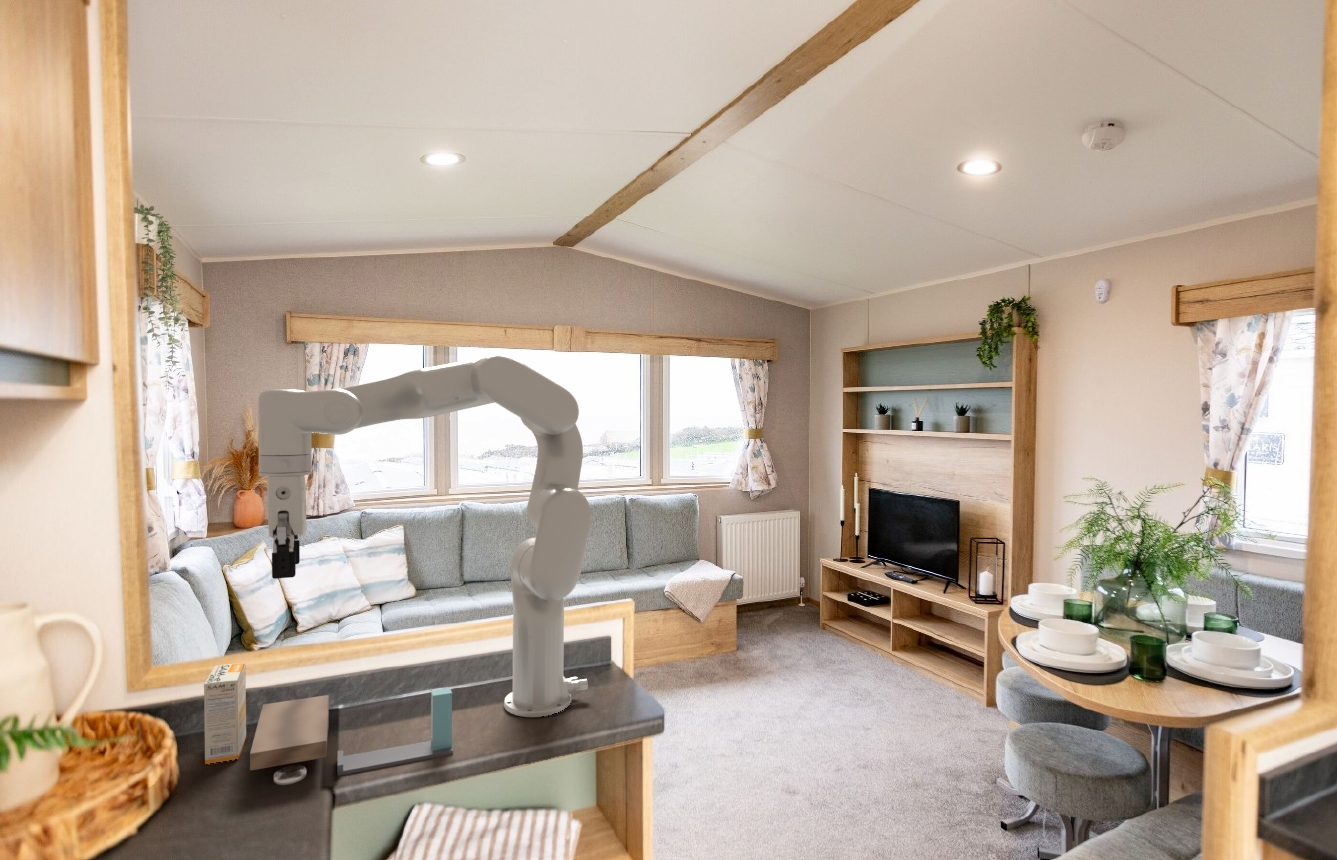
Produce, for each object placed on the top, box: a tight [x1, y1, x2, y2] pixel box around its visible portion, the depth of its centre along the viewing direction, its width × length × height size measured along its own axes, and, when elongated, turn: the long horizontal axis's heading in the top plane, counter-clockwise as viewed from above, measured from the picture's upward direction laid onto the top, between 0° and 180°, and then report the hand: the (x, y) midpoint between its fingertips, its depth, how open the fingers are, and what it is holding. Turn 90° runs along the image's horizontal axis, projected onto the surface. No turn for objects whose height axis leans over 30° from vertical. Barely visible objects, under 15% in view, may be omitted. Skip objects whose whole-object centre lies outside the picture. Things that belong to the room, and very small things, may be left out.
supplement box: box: [203, 662, 247, 765], centre depth 114 cm, size 8×5×13 cm, turn 23°
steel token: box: [273, 764, 307, 786], centre depth 107 cm, size 4×4×1 cm
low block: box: [249, 694, 330, 771], centre depth 113 cm, size 10×18×6 cm, turn 25°
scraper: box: [336, 687, 454, 777], centre depth 113 cm, size 17×5×10 cm, turn 115°
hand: (286, 570), depth 114 cm, fingers open, 9 cm apart
